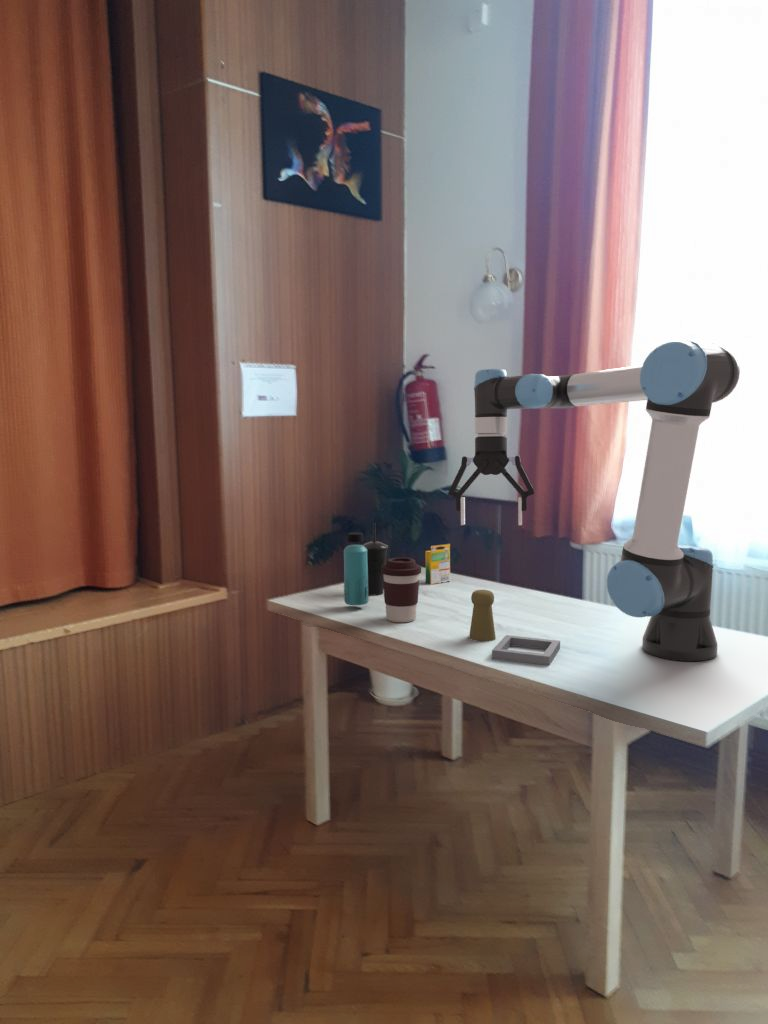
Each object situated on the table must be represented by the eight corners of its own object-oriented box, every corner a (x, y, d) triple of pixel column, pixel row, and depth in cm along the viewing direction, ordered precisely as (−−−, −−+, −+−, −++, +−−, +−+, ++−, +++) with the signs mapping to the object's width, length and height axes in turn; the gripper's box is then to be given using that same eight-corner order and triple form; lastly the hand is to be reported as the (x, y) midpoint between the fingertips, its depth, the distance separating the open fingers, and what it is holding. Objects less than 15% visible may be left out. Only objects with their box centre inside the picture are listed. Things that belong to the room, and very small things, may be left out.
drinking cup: (389, 590, 230) (389, 521, 227) (386, 596, 222) (386, 525, 219) (363, 589, 230) (362, 521, 228) (359, 596, 223) (358, 525, 220)
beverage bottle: (368, 611, 207) (367, 534, 204) (342, 611, 207) (341, 534, 204) (369, 604, 213) (368, 530, 210) (344, 604, 213) (343, 530, 211)
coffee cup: (380, 624, 194) (380, 563, 192) (381, 614, 204) (381, 556, 202) (421, 624, 194) (422, 563, 192) (420, 614, 204) (420, 556, 202)
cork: (497, 641, 180) (498, 593, 178) (470, 641, 180) (470, 593, 178) (493, 633, 186) (494, 587, 184) (467, 634, 186) (467, 587, 184)
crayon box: (444, 580, 243) (444, 542, 242) (450, 581, 241) (450, 543, 239) (424, 582, 239) (425, 544, 238) (430, 584, 237) (430, 546, 235)
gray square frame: (560, 648, 174) (560, 640, 174) (549, 665, 163) (549, 656, 163) (505, 642, 178) (506, 635, 178) (491, 658, 167) (492, 650, 167)
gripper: (544, 434, 191) (544, 523, 193) (440, 436, 196) (441, 522, 197) (544, 434, 183) (544, 526, 185) (436, 436, 188) (437, 526, 190)
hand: (491, 524), depth 191 cm, fingers open, 13 cm apart
